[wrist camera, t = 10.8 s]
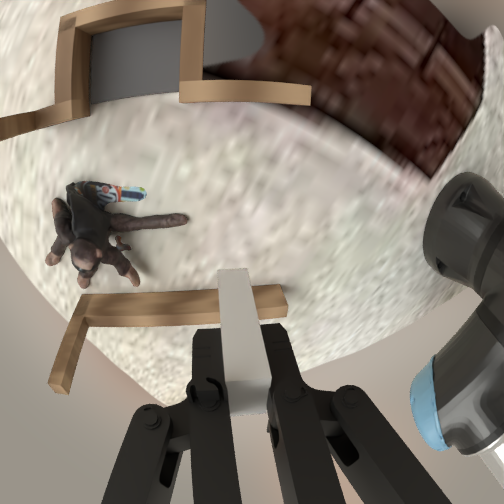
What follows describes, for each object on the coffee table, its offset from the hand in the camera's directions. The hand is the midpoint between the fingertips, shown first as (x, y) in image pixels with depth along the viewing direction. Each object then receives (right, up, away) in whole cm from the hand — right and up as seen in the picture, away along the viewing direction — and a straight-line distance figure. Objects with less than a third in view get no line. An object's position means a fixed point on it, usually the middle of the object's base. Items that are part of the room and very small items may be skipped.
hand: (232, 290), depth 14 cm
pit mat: (-8, +17, +1) cm, 19 cm away
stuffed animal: (-13, +4, +9) cm, 16 cm away
